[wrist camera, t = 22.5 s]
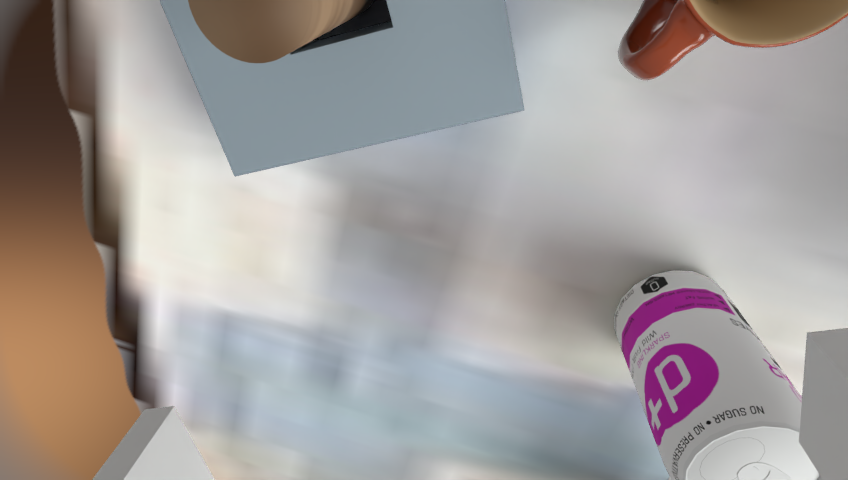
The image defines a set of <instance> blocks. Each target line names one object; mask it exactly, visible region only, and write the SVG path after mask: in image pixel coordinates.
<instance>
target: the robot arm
mask: <svg viewBox="0 0 848 480" xmlns="http://www.w3.org/2000/svg"><path fill="white" fill-rule="evenodd" d="M799 443H800V445H801V446H802V448H803V449H804V451H805V452H806V454H807V456H808V457H809V459H810V460H811V462H812V463H813V465H814V467H815V468H816V470H817V471H818V473H819V474H820V476H821V478H822V479H823V480H848V328H844V329H835V330H827V331H818V332H809V333H807V340H806V353H805V366H804V380H803V393H802V406H801V419H800V432H799ZM92 480H215V479H214V477H213V476H212V474H211V472H210V470H209V468H208V467H207V465H206V463H205V461H204V459H203V457H202V456H201V454H200V452H199V450H198V448H197V447H196V445H195V443H194V441H193V439H192V437H191V436H190V434H189V432H188V430H187V428H186V427H185V425H184V423H183V421H182V419H181V418H180V416H179V414H178V412H177V410H176V408H175V407H174V406H171V407H163V408H154V409H146V410H144V411H143V413H142V414H141V415H140V417H139V418H138V420H137V421H136V422H135V423H134V425H133V426H132V428H131V429H130V430H129V431H128V433H127V434H126V435H125V437H124V438H123V439H122V441H121V442H120V443H119V445H118V446H117V448H116V449H115V450H114V451H113V453H112V454H111V455H110V457H109V458H108V459H107V461H106V462H105V463H104V465H103V466H102V467H101V469H100V470H99V471H98V473H97V474H96V475H95V477H94V478H93V479H92Z"/></svg>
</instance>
